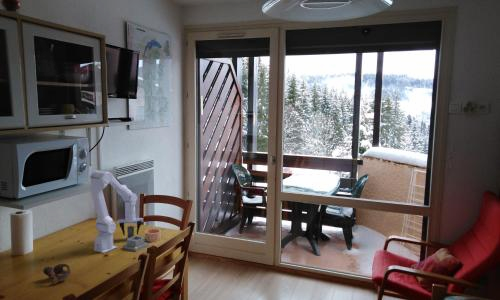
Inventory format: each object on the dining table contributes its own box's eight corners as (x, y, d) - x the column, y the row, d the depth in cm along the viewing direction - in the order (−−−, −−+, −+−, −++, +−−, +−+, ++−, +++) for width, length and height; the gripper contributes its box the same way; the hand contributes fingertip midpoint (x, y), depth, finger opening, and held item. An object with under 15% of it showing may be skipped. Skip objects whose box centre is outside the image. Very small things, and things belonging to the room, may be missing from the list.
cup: (153, 242, 214) (153, 234, 213) (142, 240, 218) (142, 232, 217) (163, 238, 221) (163, 230, 221) (152, 235, 225) (152, 227, 225)
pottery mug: (73, 274, 174) (74, 262, 170) (65, 291, 166) (66, 279, 162) (46, 269, 172) (47, 257, 168) (37, 286, 164) (37, 274, 160)
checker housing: (135, 251, 200) (135, 242, 200) (122, 248, 205) (122, 239, 205) (148, 245, 209) (148, 237, 209) (135, 242, 214) (135, 234, 213)
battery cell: (130, 240, 217) (130, 227, 216) (126, 239, 219) (126, 226, 218) (135, 238, 221) (135, 225, 220) (130, 237, 222) (130, 224, 221)
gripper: (142, 209, 224) (143, 231, 225) (117, 211, 220) (118, 233, 221) (143, 212, 217) (143, 234, 219) (117, 214, 213) (117, 237, 214)
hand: (130, 234), depth 219 cm, fingers open, 7 cm apart
